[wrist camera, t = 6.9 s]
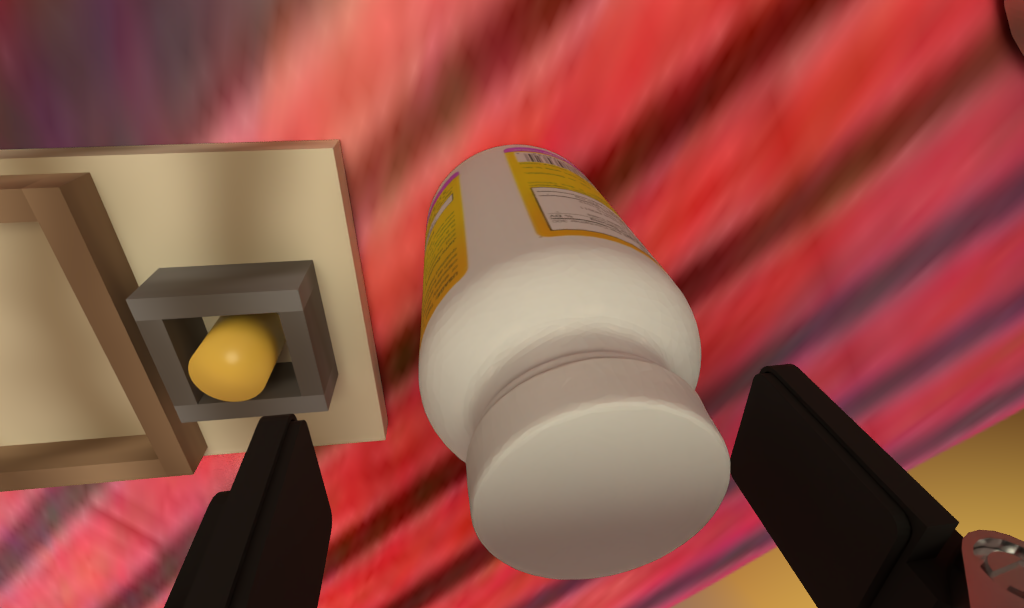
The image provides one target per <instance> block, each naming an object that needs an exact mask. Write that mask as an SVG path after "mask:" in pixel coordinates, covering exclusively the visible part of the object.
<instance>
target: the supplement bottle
mask: <svg viewBox="0 0 1024 608" xmlns="http://www.w3.org/2000/svg"><path fill="white" fill-rule="evenodd" d="M700 367H701V343H700V337H699V332H698V327H697V323H696V321H695V318H694V315H693V312H692V310H691V308H690V306H689V304H688V302H687V300H686V298H685V297H684V295H683V294H682V292H681V291H680V289H679V288H678V287H677V285H676V284H675V283H674V282H673V280H672V279H671V278H670V276H669V275H668V274H667V273H666V271H665V270H664V269H663V268H662V267H661V265H660V264H659V263H658V262H657V261H656V260H655V258H654V257H653V256H652V255H651V254H650V253H649V251H648V250H647V249H646V248H645V247H644V245H643V244H642V243H641V242H640V241H639V239H638V238H637V237H636V236H635V235H634V234H633V232H632V231H631V230H630V229H629V227H628V226H627V225H626V224H625V223H624V222H623V220H622V219H621V218H620V217H619V215H618V214H617V213H616V212H615V211H614V210H613V208H612V207H611V206H610V205H609V203H608V202H607V201H606V200H605V199H604V197H603V196H602V195H601V194H600V193H599V192H598V190H597V189H596V188H595V187H594V186H593V184H592V183H591V182H590V181H589V180H588V179H587V177H586V176H585V175H584V174H583V173H582V172H581V171H580V170H579V169H578V168H576V167H575V166H574V165H573V164H572V163H570V162H569V161H568V160H566V159H565V158H563V157H561V156H560V155H558V154H556V153H554V152H551V151H549V150H546V149H543V148H539V147H535V146H529V145H505V146H498V147H494V148H491V149H488V150H485V151H482V152H480V153H477V154H475V155H474V156H472V157H470V158H468V159H467V160H465V161H464V162H462V163H461V164H460V165H459V166H457V167H456V168H455V169H454V170H453V171H452V172H451V173H450V174H449V175H448V176H447V177H446V179H445V180H444V181H443V183H442V184H441V185H440V187H439V189H438V190H437V192H436V194H435V196H434V198H433V201H432V203H431V206H430V209H429V213H428V218H427V226H426V239H425V259H424V278H423V299H422V319H421V336H420V350H419V388H420V394H421V398H422V403H423V407H424V410H425V412H426V415H427V417H428V419H429V421H430V423H431V425H432V427H433V428H434V430H435V432H436V433H437V434H438V436H439V437H440V438H441V440H442V441H443V442H444V444H445V445H446V446H447V447H448V448H449V449H450V450H451V451H452V452H453V453H454V454H455V455H456V456H457V457H459V458H460V459H461V460H462V461H464V462H465V463H466V470H467V484H468V494H469V503H470V512H471V518H472V524H473V527H474V530H475V532H476V534H477V536H478V538H479V540H480V541H481V543H482V544H483V545H484V546H485V547H486V549H487V550H488V551H489V552H490V553H491V554H493V555H494V556H495V557H496V558H498V559H499V560H501V561H502V562H504V563H505V564H507V565H509V566H511V567H513V568H515V569H517V570H519V571H522V572H525V573H528V574H531V575H535V576H541V577H545V578H552V579H590V578H598V577H604V576H611V575H615V574H619V573H622V572H626V571H629V570H632V569H635V568H638V567H640V566H643V565H645V564H648V563H650V562H653V561H655V560H657V559H659V558H661V557H663V556H665V555H666V554H668V553H670V552H672V551H673V550H675V549H676V548H678V547H679V546H681V545H683V544H684V543H685V542H687V541H688V540H689V539H690V538H692V537H693V536H694V535H696V534H697V533H698V532H699V531H700V530H701V529H702V528H703V527H704V526H705V525H706V524H707V523H708V521H709V520H710V519H711V518H712V516H713V515H714V514H715V512H716V511H717V510H718V508H719V506H720V504H721V502H722V500H723V498H724V496H725V494H726V491H727V488H728V485H729V480H730V463H731V462H730V457H729V453H728V450H727V447H726V444H725V442H724V440H723V438H722V436H721V434H720V432H719V431H718V429H717V427H716V426H715V424H714V423H713V421H712V419H711V418H710V416H709V415H708V413H707V411H706V409H705V407H704V405H703V403H702V401H701V399H700V397H699V396H698V394H697V393H696V392H695V388H696V385H697V382H698V378H699V373H700Z"/></svg>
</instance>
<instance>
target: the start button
mask: <svg viewBox="0 0 1024 608" xmlns="http://www.w3.org/2000/svg"><path fill="white" fill-rule="evenodd" d="M285 342H286V339H285V335H284V332H283V328H282V325H281V321H280V318H279V315H278V314H276V313H259V314H243V315H227V316H220V317H219V319H218V320H217V322H216V323H215V324H214V326H213V327H212V329H211V330H210V331H209V333H208V334H207V336H206V337H205V339H204V340H203V341H202V343H201V344H200V346H199V347H198V349H197V350H196V351H195V353H194V354H193V356H192V357H191V359H190V361H189V365H188V371H189V375H190V378H191V380H192V381H193V383H194V384H195V385H196V386H197V387H198V388H199V389H200V390H201V391H202V392H204V393H205V394H207V395H209V396H211V397H213V398H216V399H219V400H223V401H229V402H239V401H245V400H249V399H252V398H254V397H256V396H257V395H258V394H260V393H261V392H262V390H263V389H264V388H265V386H266V383H267V381H268V379H269V377H270V375H271V373H272V370H273V368H274V366H275V364H276V362H277V360H278V357H279V355H280V353H281V351H282V349H283V347H284V344H285Z"/></svg>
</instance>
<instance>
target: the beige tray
mask: <svg viewBox="0 0 1024 608" xmlns="http://www.w3.org/2000/svg"><path fill="white" fill-rule="evenodd" d="M259 313H276V314H278V315H279V318H280V321H281V325H282V328H283V332H284V335H285V339H286V342H285V344H284V347H283V349H282V351H281V353H280V355H279V357H278V360H277V362H276V364H275V366H274V368H273V370H272V373H271V375H270V377H269V379H268V381H267V383H266V386H265V388H264V389H263V390H262V392H261V393H260V394H258V395H257V396H256V397H254V398H252V399H249V400H245V401H239V402H229V401H223V400H219V399H216V398H213V397H211V396H209V395H207V394H205V393H204V392H202V391H201V390H200V389H199V388H198V387H197V386H196V385H195V384H194V383H193V381H192V380H191V378H190V375H189V371H188V365H189V361H190V359H191V357H192V356H193V354H194V353H195V351H196V350H197V349H198V347H199V346H200V344H201V343H202V341H203V340H204V339H205V337H206V336H207V334H208V333H209V331H210V330H211V329H212V327H213V326H214V324H215V323H216V322H217V320H218V319H219V317H220V316H227V315H243V314H259ZM282 414H294V415H295V416H296V418H297V420H305V421H306V422H307V425H308V428H309V432H310V435H311V439H312V443H313V446H322V445H334V444H345V443H357V442H368V441H380V440H386V433H387V425H388V418H387V412H386V407H385V401H384V395H383V389H382V383H381V378H380V372H379V366H378V360H377V354H376V349H375V343H374V337H373V331H372V325H371V320H370V314H369V308H368V302H367V296H366V291H365V285H364V279H363V273H362V267H361V262H360V256H359V250H358V244H357V238H356V233H355V227H354V221H353V215H352V209H351V204H350V198H349V192H348V186H347V181H346V175H345V169H344V163H343V157H342V152H341V146H340V140H307V141H274V142H241V143H208V144H175V145H142V146H109V147H76V148H43V149H10V150H0V492H2V491H13V490H24V489H35V488H46V487H58V486H69V485H80V484H91V483H102V482H113V481H125V480H136V479H147V478H158V477H169V476H180V475H192V474H194V472H195V470H196V469H197V467H198V465H199V463H200V461H201V459H202V457H203V456H206V455H218V454H229V453H241V452H246V451H247V449H248V446H249V444H250V441H251V439H252V436H253V434H254V431H255V429H256V426H257V424H258V422H259V420H260V418H261V417H263V416H272V415H282Z"/></svg>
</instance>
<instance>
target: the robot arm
mask: <svg viewBox="0 0 1024 608" xmlns="http://www.w3.org/2000/svg"><path fill="white" fill-rule="evenodd" d="M1004 7H1005V11H1006V15H1007V19H1008V23H1009V27H1010V30H1011V34H1012V37H1013V38H1014V40H1015V42H1016V44H1017V45H1018V47H1019V49H1020V50H1021V52H1022V54H1023V56H1024V0H1004ZM730 462H731V463H730V472H731V475H732V477H733V479H734V481H735V482H736V484H737V485H738V487H739V488H740V490H741V492H742V493H743V495H744V496H745V498H746V499H747V501H748V502H749V504H750V505H751V507H752V508H753V510H754V511H755V513H756V514H757V516H758V517H759V519H760V520H761V522H762V524H763V525H764V527H765V528H766V530H767V531H768V533H769V534H770V536H771V537H772V539H773V540H774V542H775V543H776V545H777V546H778V548H779V549H780V551H781V552H782V554H783V555H784V557H785V559H786V560H787V561H788V563H789V565H790V566H791V568H792V569H793V571H794V572H795V574H796V575H797V577H798V578H799V580H800V581H801V583H802V584H803V586H804V588H805V589H806V590H807V592H808V593H809V595H810V597H811V598H812V600H813V601H814V603H815V604H816V606H817V607H818V608H1024V541H1021V540H1019V539H1017V538H1014V537H1012V536H1010V535H1006V534H1003V533H999V532H996V531H987V530H977V531H973V532H969V533H968V534H967V535H966V536H965V537H964V538H963V537H962V536H961V535H960V534H959V533H958V532H957V531H956V530H955V528H956V527H957V525H958V523H959V522H958V521H957V520H956V519H955V518H954V517H953V516H952V515H951V514H950V513H949V512H948V511H947V510H946V509H945V508H944V507H943V506H942V505H940V504H939V503H938V502H937V501H936V500H935V499H934V498H933V497H932V496H931V495H930V494H929V493H928V492H927V491H926V490H925V489H924V488H923V487H922V486H921V485H920V484H919V483H918V482H917V481H916V480H914V479H913V478H912V477H911V476H910V475H909V474H908V473H907V472H906V471H905V470H904V469H903V468H902V467H901V466H900V465H899V464H898V463H897V462H896V461H895V460H894V459H893V458H892V457H891V456H890V455H888V454H887V453H886V452H885V451H884V450H883V449H882V448H881V447H880V446H879V445H878V444H877V443H876V442H875V441H874V440H873V439H872V438H871V437H870V436H869V435H868V434H867V433H866V432H865V431H863V430H862V429H861V428H860V427H859V426H858V425H857V424H856V423H855V422H854V421H853V420H852V419H851V418H850V417H849V416H848V415H847V414H846V413H845V412H844V411H843V410H842V409H841V408H840V407H838V406H837V405H836V404H835V403H834V402H833V401H832V400H831V399H830V398H829V397H828V396H827V395H826V394H825V393H824V392H823V391H822V390H821V389H820V388H819V387H818V386H817V385H816V384H815V383H813V382H812V381H811V380H810V379H809V378H808V377H807V376H806V375H805V374H804V373H803V372H802V371H801V370H800V369H799V368H798V367H796V366H795V365H792V364H785V365H775V366H766V367H764V368H762V369H761V371H760V373H759V374H757V375H756V376H755V377H754V379H753V382H752V386H751V389H750V393H749V396H748V399H747V403H746V406H745V410H744V413H743V417H742V420H741V424H740V427H739V431H738V434H737V438H736V441H735V444H734V448H733V451H732V455H731V458H730ZM331 528H332V513H331V508H330V505H329V501H328V498H327V494H326V490H325V487H324V483H323V479H322V476H321V472H320V468H319V465H318V461H317V457H316V454H315V450H314V446H313V443H312V439H311V435H310V432H309V428H308V425H307V422H306V421H305V420H297V418H296V416H295V415H294V414H282V415H272V416H263V417H261V418H260V420H259V422H258V424H257V426H256V429H255V431H254V434H253V436H252V439H251V441H250V444H249V446H248V449H247V451H246V453H245V456H244V458H243V461H242V463H241V466H240V468H239V471H238V473H237V476H236V478H235V481H234V483H233V485H232V488H231V490H230V491H224V492H219V493H217V494H216V495H215V496H214V497H213V499H212V500H211V502H210V504H209V506H208V508H207V510H206V513H205V515H204V517H203V520H202V522H201V524H200V526H199V529H198V531H197V533H196V536H195V538H194V540H193V542H192V545H191V547H190V549H189V552H188V554H187V556H186V558H185V561H184V563H183V565H182V568H181V570H180V572H179V574H178V577H177V579H176V581H175V584H174V586H173V588H172V590H171V593H170V595H169V597H168V600H167V602H166V604H165V606H164V608H317V606H318V601H319V595H320V590H321V584H322V579H323V573H324V568H325V562H326V557H327V551H328V546H329V540H330V535H331Z"/></svg>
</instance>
